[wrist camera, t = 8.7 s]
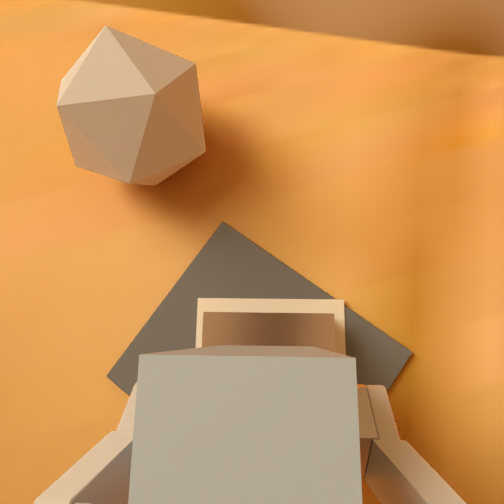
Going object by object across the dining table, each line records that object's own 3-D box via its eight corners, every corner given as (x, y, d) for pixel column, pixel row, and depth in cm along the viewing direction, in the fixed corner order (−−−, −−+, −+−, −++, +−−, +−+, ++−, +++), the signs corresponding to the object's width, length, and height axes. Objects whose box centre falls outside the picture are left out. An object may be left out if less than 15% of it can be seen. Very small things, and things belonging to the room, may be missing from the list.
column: (218, 442, 16) (120, 604, 6) (221, 345, 17) (138, 354, 7) (314, 446, 16) (368, 622, 6) (312, 346, 17) (355, 358, 7)
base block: (208, 436, 22) (197, 452, 19) (213, 314, 24) (203, 311, 21) (330, 441, 22) (338, 458, 19) (327, 315, 23) (334, 313, 20)
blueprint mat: (105, 379, 24) (102, 380, 23) (225, 219, 25) (224, 217, 25) (296, 540, 21) (296, 544, 21) (416, 351, 23) (419, 351, 22)
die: (140, 78, 29) (1, 45, 21) (231, 42, 24) (93, -18, 16) (156, 188, 30) (29, 195, 22) (245, 175, 25) (123, 178, 17)
